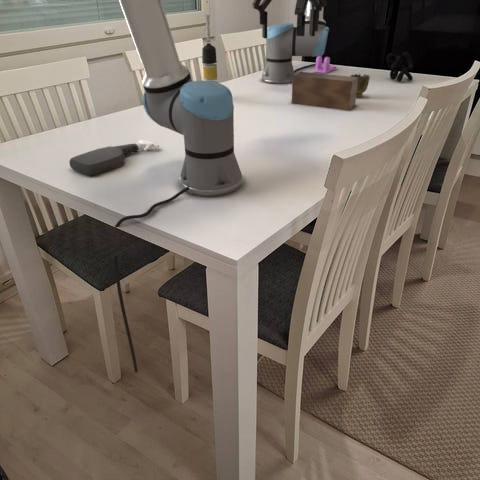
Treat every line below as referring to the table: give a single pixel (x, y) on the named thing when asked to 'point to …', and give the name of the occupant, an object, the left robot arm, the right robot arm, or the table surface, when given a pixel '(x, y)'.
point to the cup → (361, 84)
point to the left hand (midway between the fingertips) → (288, 36)
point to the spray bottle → (106, 157)
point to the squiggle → (399, 66)
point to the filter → (209, 57)
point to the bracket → (324, 65)
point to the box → (324, 90)
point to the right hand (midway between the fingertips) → (307, 33)
